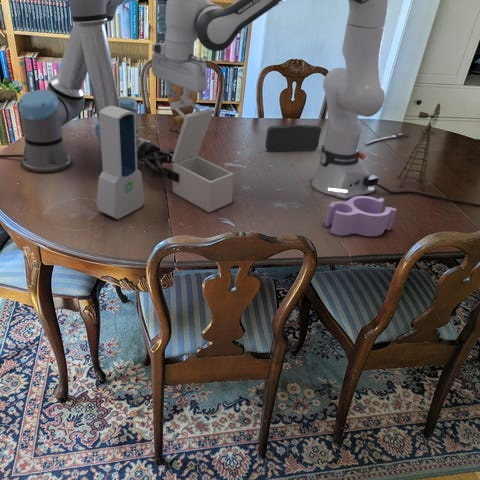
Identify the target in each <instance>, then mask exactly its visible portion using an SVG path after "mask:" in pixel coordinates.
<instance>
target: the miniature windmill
mask: <svg viewBox="0 0 480 480" xmlns="http://www.w3.org/2000/svg"><path fill="white" fill-rule="evenodd" d="M440 111H441V103H440V102H438V103H437V104H436V106H435V108H434V110H433V113H432V114H429V113H427V112H424V111H419V115H418V119H428V118H430V121H429V122H428V123H427V125H426V127H425V128H420V131H421V135H420V138H419V140H418V141H417V143H416V145H415V146H414V147H413V150H412V152H411V153H410V156H409V157H408V158H407V161H406V162H405V165H404V167H403V168H401V172H400V173H399V175H398V178H399V179H400V178H401V177H402V175H403V179H402V180H401V183H400V185H399V186H400V187H403V185H404V183H405V181H406V179H412V180H418V181H419V182H421V181H422V183H421V191H422V190H423V191H424V188H425V182H426V180H427V179H426V171H427V167H428V157H429V147H430V142H431V140H430V139H431V135H432V136H434V135H437V132H436V130H434V129H435V127H434V125H435V124H437V123H438V119H439V118H440V116H439V115H440V114H441V112H440ZM423 142H426V143H425V147H422V144H423ZM420 149H421V150H420ZM422 150H424V151H422ZM418 153H421V154H423V158H420V157H417V155H418ZM415 160H420V161H422V162H421V163H416V162H415ZM408 164H409V166H408ZM412 165H416V166H421V168H420V170H415V169H411V168H412ZM405 171H406V172H405ZM409 172H415V173H420V174H419V178H418V177H412V176H408V175H409Z"/></svg>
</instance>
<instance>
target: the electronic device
mask: <svg viewBox="0 0 480 480" xmlns="http://www.w3.org/2000/svg"><path fill="white" fill-rule="evenodd" d="M99 124H100V137H101V140H100V147H101V149H100V151H101V164H102V171H101V173H100V174H99V176H98V182H97V194H96V206H97V209H98V211H99V212H101V213H102V214H104V215H107V216H108V217H111V218H113V219H115V220H120V219H121V218H123V217H124V216H125V217H126V216H127V215H128V214H130V213H132V212H135V211H136V210H138V209H140V208H142V207H143V206H144V203H145V196H144V195H145V193H144V186H143V177H142V171H141V170H140V169H139V168H138V160H137V143H136V113H134V112H131V111H128V110H125V109H122V108H119V107H115V106H108V107H105V108H103V109H102V110H101V111H100V112H99Z"/></svg>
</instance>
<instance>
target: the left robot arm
mask: <svg viewBox="0 0 480 480" xmlns="http://www.w3.org/2000/svg"><path fill="white" fill-rule="evenodd" d="M124 2H125V0H68V4H69V9H70V10H69V11H70V14H71V19H72V23H73V24H72V25H73V26H72V29H71V31H70V34H69V36H68V37H69V38H68V40H67V43H66V46H65V50H64V52H63V55H62V59H61V61H60V64H59V68H58V70H57V74H56V75H53V76H51V77H50V78H49V82H48V84H47V87H46V89H37V90H36V89H35V90H34V91H28V92H25V93H24V94H22V95H21V96H20V98H19V100H18V105H19V107H18V111H19V114H20V119H21V125H22V132H23V137H24V148H23V153H22V154H0V158H21V161H22V166H23V168H24V169H25V170H27V171H29V172H33V173H39V174H46V173H56V172H61V171H63V170H66V169H67V168H69V167H70V166H71V163H72V159H71V155H70V153H69V151H68V150H67V149H68V148H67V147H66V145H65V143H64V140H63V132H62V127H63V126H64V125H66V124H68V123H69V122H70V121H72V120H75V119H77V117H78V116H79V115H81V113H82V112H83V110H84V109H85V108H84V107H85V98H84V97H85V89H84V87H83V86H84V83H85V82H86V81H85V80H86V77H87V75H88V80H89V84H90V89H91V93H92V97H93V103H94V106H95V111H96V117H97V122H96V124H95V126H94V133H95V135H96V138H97V139H98V140H100V141H101V137H100V124H99V112H100V111H101V110H102V109H103V108H105V107H108V106H115V107H119V108H122V109H125V110H128V111H131V112H134V113H136V143H137V161H139V162H140V167H143V168H145V170H146V171H148V172H149V174H150V175H152V177H157V176H158V178H160V179H161V178H163V177H165V178H168V179H170V180H171V181H172V182H173V181H175V182H179V174H178V173H176V172H174V171H173V169H170V168H168V167H166V166H164V167H163V166H162V164H168V165H169V164H171V163H172V164H173V163H176V162H173V161H172V157H173V153H174V150H175V149H172V148H168V151H165V150H161V148H160V147H159V145H158V144H156V143H153V142H151V141H149V140H148V139H145V138H142V137H141V136H139V125H138V123H139V122H138V121H139V120H138V116H139V115H138V111H139V110H138V103H137V100H136V99H135V98H133V97H128V96H122V97H119V93H118V89H117V83H116V78H115V72H114V67H113V62H112V56H111V50H110V44H109V40H108V35H107V30H106V24H107V23H109V22H110V23H111V22H112V21H113V20H114V18H115V15H116V13H117V10H118V8H119V6H120V5H122V4H123V3H124ZM192 157H194V156H192ZM189 158H191V157H189ZM186 159H188V158H186ZM183 160H185V159H183ZM180 161H182V160H180ZM177 162H179V161H177Z"/></svg>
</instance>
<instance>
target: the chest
mask: <svg viewBox="0 0 480 480" xmlns="http://www.w3.org/2000/svg"><path fill="white" fill-rule="evenodd" d="M172 171H174V172H176V173H178V174H179V182H175V181H173V180H172V193H174V194H175V195H177V196H179V197H181V198H182V199H184V200H185V201H188V202H190V203H191V204H193V205H195V206H197V208H200V209H201V210H204V211H206V212H207V213H211V212H213V211H216V210H218V209H220V208H223V207H226V206H227V205H229V204H232V203H233V194H234V180H235V173H234V172H232V171H229V170H227V169H226V168H223V167H221V166H219V165H217V164H215V163H213V162H211V161H209V160H207V159H204V158H203V157H201V156H198V155H196V156H194V157H191V158H188V159H185V160H182V161H179V162H176V163H172Z"/></svg>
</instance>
